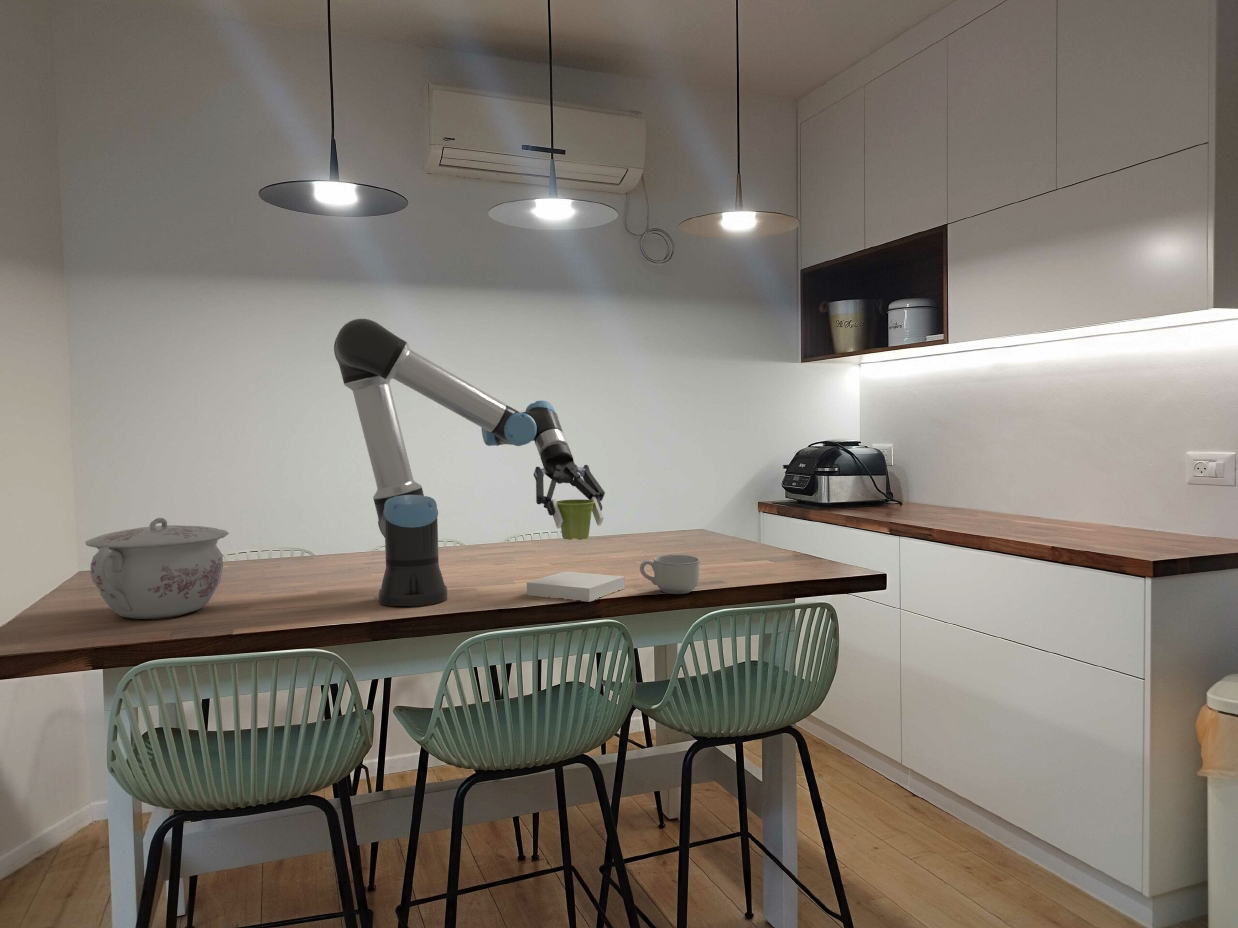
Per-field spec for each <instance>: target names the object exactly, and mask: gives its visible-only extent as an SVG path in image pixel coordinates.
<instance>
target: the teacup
mask: <svg viewBox="0 0 1238 928" xmlns="http://www.w3.org/2000/svg"><path fill="white" fill-rule="evenodd" d="M700 562H701V559H700V558H699V557H697V556H694V555H690V554H689V555H687V554H678V553H677V554H676V553H674V554H660V555H658V556H655V557H654V558H653V560H650V559H645V560H643V561H642V562H641V563H640V564H639V572H640V574H641V575H642V576H643V577H644V578H645V579H647V580H649V581H650V582H651V584H653V585H654V586H656V587H657V588H659V589H660V590H661V591H662V592H663V593H666V594H669V595H670V594H671V595H683V594H689V593H690V592H692V591H693V590H694V589H695V588H696V587H697V586H698V584H699V580H700ZM646 565H650V566H651V568H652V571H653V575H654V576H651V575H649V574H647V572H646V571H645V566H646Z"/></svg>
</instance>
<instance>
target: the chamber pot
mask: <svg viewBox="0 0 1238 928" xmlns="http://www.w3.org/2000/svg"><path fill="white" fill-rule="evenodd" d="M157 524H161V525H157ZM229 534H230V533H229V532H228V531H227V530H226V529H222V528H221V529H219V528H218V527H210V526H200V525H179V524H178V525H176V524H175V525H174V524H173V525H171V524H169V525H168V521H167V520H166V519H165V518H163V517H158V518H154V520H152V521H151V522H150V524H149V526H144V527H137V528H136V527H135V528H129V529H123V530H119V531H114V532H109V533H104V534H101V535H98V536H96V537H92V538H90V539H88V540H86V541H85V542H84V543H85V545H86V546H87V547H91V548H95V549H97V550H98V551H97V552H96V553H95V554H94V555H93V556H92V559H91V562H90V571H89V572H90V577H91V579H92V580H91V581H92V582H93V584H94V585H95V586H96V588H97V590H99V593H100V594H99V595H100V597H101V598H102V599H103V600H104V602H105V603H106V604H107V605H108V607H109V608H110V610H112V611H113V612H114V613H115V614H116V615H118V616H120V617H124V618H129V619H131V620H138V619H152V620H163V618H164V619H171V618H176V617H181V616H185V615H189V614H191V613H194V612H197V611H198V610H200V609H202V608H204V607H205V606H206V605H207V604H209V602H210V601H211V599H212V598H213V595H214V594H215V592H216V591H217V590H218V587H219V585H220V584H221V580H222V574H223V568H224V559H223V558H224V557H223V553H222V551H221V549H220V548H219V547H218V546H217V544H218V541H219V540H220V539H224V538H225V537H226V536H228V535H229Z"/></svg>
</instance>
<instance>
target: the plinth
mask: <svg viewBox="0 0 1238 928" xmlns="http://www.w3.org/2000/svg"><path fill="white" fill-rule="evenodd" d="M624 588H625V589H626V577H625V576H623V575H622V576H621V575H611V574H600V573H599V574H597V573H587V572H576V571H566V570H565V571H561V572H558V573H556V574H551V575H548V576H544V577H540V578H537V579H534V580H530V581H526V596H529V597H531V596H532V597H540V598H541V597H542V598H548V597H550V599H558V598H564V599H563V600H567V599H573V600H572V601H576V600H581V601H580V602H588V603H590V602H593V601H595V599H596V600H598V599H597V598H599V597H602V596H604V595H606V594H609V593H612V592H615V591H618V590H621V589H624ZM625 589H624V590H625ZM621 591H622V590H621ZM604 597H605V596H604ZM602 598H603V597H602ZM599 599H600V598H599Z"/></svg>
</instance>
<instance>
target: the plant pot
mask: <svg viewBox="0 0 1238 928" xmlns="http://www.w3.org/2000/svg"><path fill="white" fill-rule="evenodd" d="M556 502H557V505H558V508H559V511H560V514H561V516H562V519H563V522H562V525H561V527H560V531H561V537H562V539H564V540H568V541H571V540H574V539H575V540H577V541H579V540H580V541H581V540H582V541H583V540H587V539H588V538H589V536H590V529H591V527H590V526H591V520H592V519H591V518H592V513H593V512H592V509H593V504H594V503H595V501H593V500H589V499H581V498H580V499H562V500H561V499H560V500H556Z"/></svg>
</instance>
